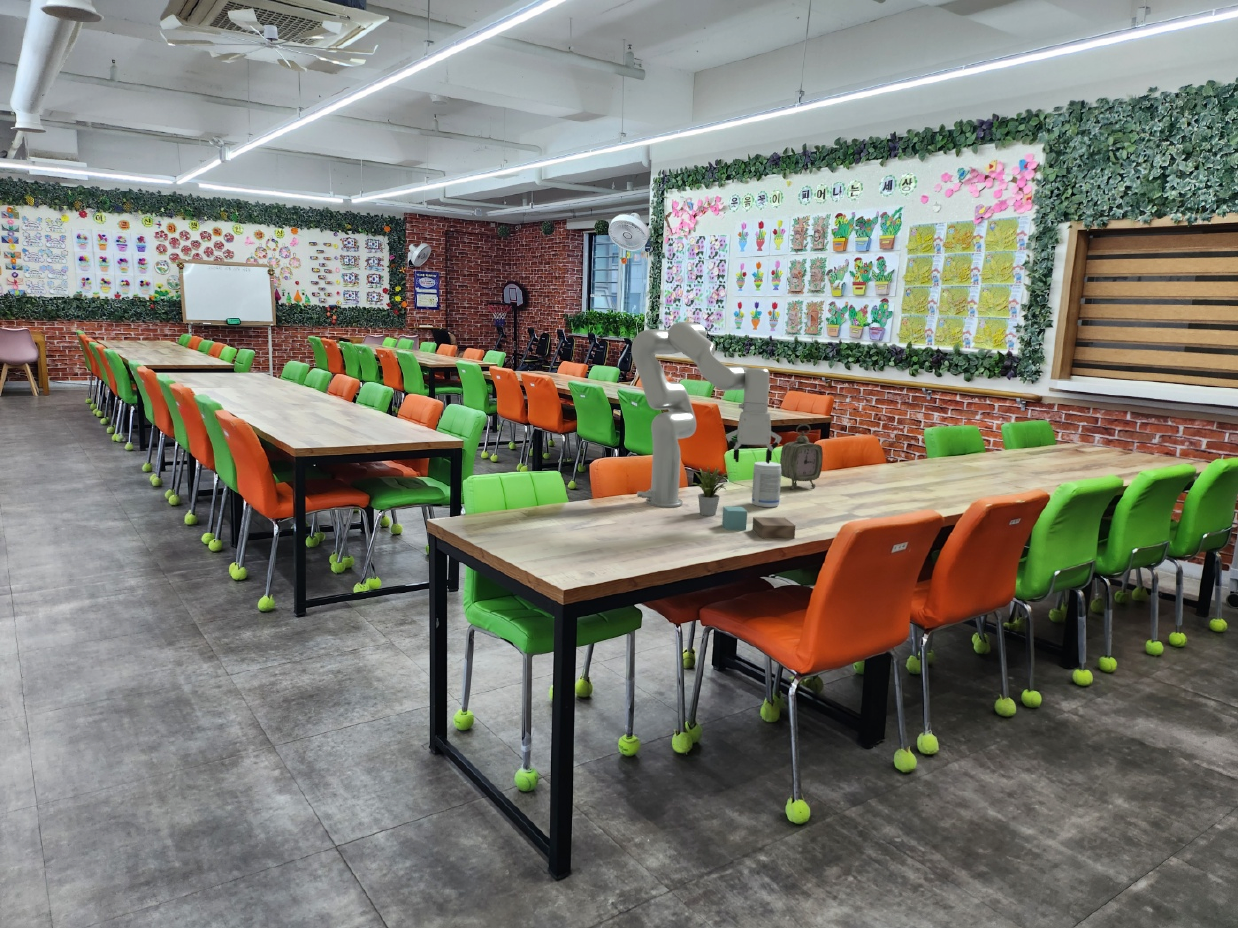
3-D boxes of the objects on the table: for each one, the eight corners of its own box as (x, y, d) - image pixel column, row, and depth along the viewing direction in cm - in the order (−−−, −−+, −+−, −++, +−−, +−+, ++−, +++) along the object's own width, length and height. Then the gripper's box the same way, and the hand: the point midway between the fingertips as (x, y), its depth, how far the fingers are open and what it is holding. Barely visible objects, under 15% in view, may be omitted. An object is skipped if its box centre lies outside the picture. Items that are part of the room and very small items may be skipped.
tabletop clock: (791, 491, 323) (796, 426, 318) (776, 486, 331) (780, 422, 326) (820, 488, 330) (825, 425, 325) (804, 484, 338) (809, 422, 333)
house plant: (728, 521, 270) (732, 471, 267) (685, 517, 272) (688, 468, 269) (731, 512, 283) (735, 464, 281) (690, 508, 286) (693, 460, 283)
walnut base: (762, 538, 251) (762, 525, 250) (752, 529, 261) (753, 517, 260) (794, 538, 252) (795, 525, 252) (783, 530, 262) (784, 517, 261)
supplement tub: (784, 505, 297) (787, 464, 294) (768, 509, 290) (771, 467, 288) (762, 500, 303) (765, 460, 301) (745, 503, 297) (748, 462, 294)
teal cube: (727, 530, 259) (728, 511, 258) (722, 525, 265) (723, 506, 264) (745, 530, 260) (747, 511, 259) (740, 525, 266) (741, 506, 265)
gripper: (728, 408, 260) (725, 463, 263) (785, 410, 260) (781, 465, 263) (726, 406, 268) (723, 459, 270) (781, 407, 267) (777, 461, 270)
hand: (752, 462), depth 266 cm, fingers open, 9 cm apart
